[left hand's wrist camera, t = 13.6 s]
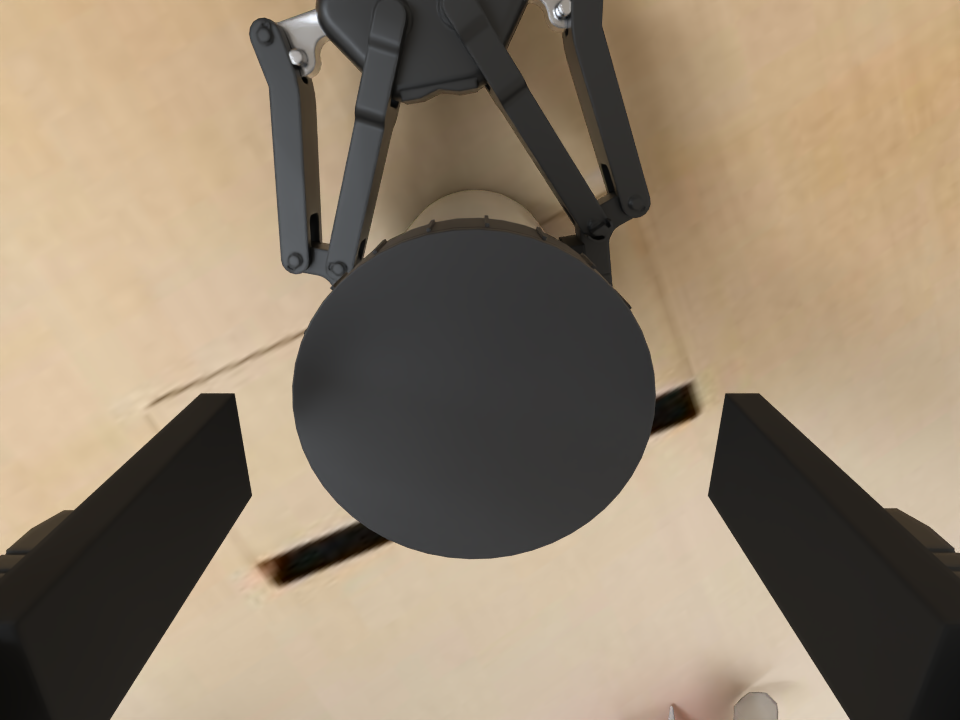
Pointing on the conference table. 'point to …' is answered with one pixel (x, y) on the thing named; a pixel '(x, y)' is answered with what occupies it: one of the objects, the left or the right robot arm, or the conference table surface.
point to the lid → (473, 390)
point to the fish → (751, 708)
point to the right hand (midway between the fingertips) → (490, 386)
